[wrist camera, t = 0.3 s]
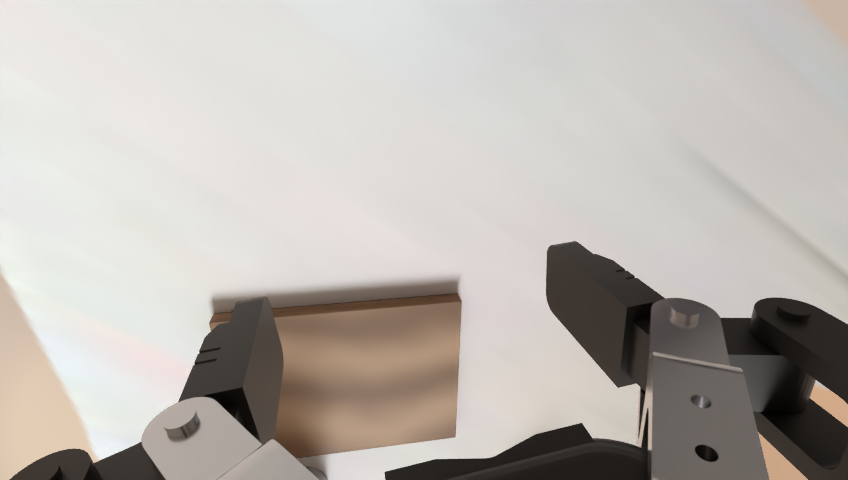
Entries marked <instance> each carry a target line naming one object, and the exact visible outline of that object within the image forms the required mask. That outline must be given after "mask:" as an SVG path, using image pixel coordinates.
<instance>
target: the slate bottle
mask: <svg viewBox="0 0 848 480" xmlns="http://www.w3.org/2000/svg"><path fill="white" fill-rule="evenodd" d="M306 468H307V469H308V470H309V471H310V472H311V473H312V474H314V475H315V476H316V477H317V478H318V479H319V480H327V478H326V476H325V475H324V474H323V473H322V472H320V471H319V470H317V469H314V468H310V467H306Z"/></svg>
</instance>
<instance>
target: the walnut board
mask: <svg viewBox="0 0 848 480" xmlns="http://www.w3.org/2000/svg"><path fill="white" fill-rule="evenodd" d="M461 304H462V301H461V299H460V297H459V295H458V294H447V295H435V296H422V297H410V298H398V299H386V300H374V301H362V302H350V303H337V304H325V305H313V306H301V307H289V308H277V309H272V313H273V316H274V320H275V323H276V327H277V331H278V334H279V338H280V341H281V345H282V350H283V359H284V368H283V376H282V384H281V391H280V399H279V407H278V415H277V423H276V430H275V438H274V440H275V441H277V442H278V443H279V444H280V445H281V446H283V447H284V448H285V449H286V450H287V451H288V452H289V453H290V454H291V455H293V456H294V457H295V458H302V457H310V456H317V455H325V454H332V453H340V452H347V451H355V450H363V449H370V448H378V447H385V446H393V445H400V444H408V443H415V442H423V441H430V440H438V439H446V438H453V437H455V435H456V413H457V392H458V370H459V348H460V326H461ZM232 314H233V312H228V313H216V314H213V317H212V319H211V321H210V323H209V324H210V329H211V331H212V330H213V329H214V328H215V327H216V326H217V325H218V324H222V323H227V322H230V319H231V316H232Z"/></svg>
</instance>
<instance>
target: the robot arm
mask: <svg viewBox="0 0 848 480" xmlns="http://www.w3.org/2000/svg"><path fill="white" fill-rule="evenodd" d="M546 296H547V301H548V305H549V307H550V309H551V311H552V312H553V314H554V315H555V316H556V317H557V318H558V319H559V321H560V322H561V323H562V324H563V325H564V326H565V327H566V329H567V330H568V331H569V332H570V333H571V334H572V335H573V337H574V338H575V339H576V340H577V341H578V342H579V344H580V345H581V346H582V347H583V348H584V349H585V350H586V352H587V353H588V354H589V355H590V356H591V357H592V358H593V360H594V361H595V362H596V363H597V364H598V365H599V366H600V368H601V369H602V370H603V371H604V372H605V373H606V374H607V376H608V377H609V378H610V379H611V380H612V381H613V383H614V384H615V385H616V386H617V387H618V388H619V387H623V386H627V385H631V384H635V383H637V384H638V385H639V386H640V392H639V401H638V421H637V441H636V446H635V445H632V444H628V443H625V442H620V441H615V440H609V439H599V438H592V437H591V436H590V434H589V433H588V431H587V430H586V429H585V427H584V426H583V424H582V423H580V424H576V425H572V426H568V427H564V428H560V429H556V430H552V431H548V432H544V433H540V434H536V435H534V436H532V437H530V438H528V439H526V440H525V441H523V442H521V443H519V444H517V445H515V446H513V447H512V448H510V449H508V450H506V451H504V452H502V453H500V454H499V455H497V456H495V457H492V458H485V459H435V460H431V461H427V462H423V463H419V464H415V465H411V466H407V467H403V468H399V469H395V470H391V471H387V472H385V479H386V480H769V476H768V472H767V468H766V464H765V459H764V455H763V451H762V447H761V443H760V439H759V434H758V432H759V433H760V434H761V435H762V436H763V437H764V438H765V439H766V440H767V441H768V442H769V443H770V444H771V445H773V446H774V447H775V448H776V449H777V450H778V451H779V452H780V453H781V454H782V455H783V456H784V457H785V458H786V459H787V460H788V461H790V463H792V464H793V465H794V466H795V467H796V468H797V469H798V470H799V471H800V472H801V473H802V474H803V475H804V476H805V477H806V478H807V479H808V480H848V427H846V426H845V425H844V424H842V423H841V422H840V421H839V420H837V419H836V418H835V417H833V416H832V415H831V414H829V413H828V412H827V411H825V410H824V409H823V408H821V407H820V406H819V405H818V404H816V403H815V402H814V401H812V400H811V399H810V398H809V397H810V395H811V392H812V389H813V386H814V383H815V380H817V381H818V382H820V383H821V384H823V385H824V386H825V387H827V388H828V389H830V390H831V391H832V392H834V393H835V394H837V395H838V396H839V397H841V398H842V399H843V400H844V401H845V402H846V403H847V404H848V324H846V323H844V322H842V321H841V320H839V319H837V318H835V317H834V316H832V315H830V314H828V313H826V312H825V311H823V310H821V309H819V308H817V307H815V306H813V305H810V304H807V303H804V302H801V301H797V300H792V299H786V298H766V299H762V300H759V301H758V302H756V304H755V305H754V309H753V313H752V317H751V318H720V316H719V315H718V314H717V313H716V312H715V311H714V310H713V309H711V308H710V307H708V306H706V305H704V304H702V303H699V302H696V301H693V300H688V299H682V298H667V299H665V298H664V297H662V296H661V295H660V294H658V293H657V292H656V291H654V290H653V289H651V288H650V287H649V286H647V285H646V284H645V283H643V282H642V281H640V280H639V279H638V278H635V277H634V275H632V274H631V273H629V272H628V271H625V269H624V268H623V267H621V266H620V265H618V264H617V263H616V262H614V261H613V260H610V259H608V258H605V257H602V256H600V255H597V254H592V253H591V252H590V251H589V250H587V249H586V248H585V247H583V246H582V245H581V244H579V243H578V242H576V241H573V242H568V243H562V244H557V245H551V246H550V247H549V248H548V251H547V275H546ZM199 352H200V354H198V356H197V358H196V360H195V365H194V366H193V368H192V370H191V372H190V375H189V377H188V380H187V382H186V385H185V387H184V389H183V392H182V394H181V397H180V399H179V401H178V403H176V404H174V405H172V406H170V407H168V408H167V409H165V410H164V411H162V412H161V413H160V414H158V415H157V416H156V417H155V418H154V419H153V420H152V421H151V422H150V423H149V424H148V426H147V427H146V429H145V430H144V433H143V435H142V442H140V443H138V444H136V445H134V446H132V447H130V448H128V449H125V450H123V451H121V452H118V453H116V454H114V455H112V456H109V457H107V458H105V459H102V460H100V461H98V462H96V463H93V461H92V460H91V458H90V456H89V454H88V453H87V452H85V451H84V450H81V449H67V450H62V451H59V452H55V453H52V454H50V455H48V456H45V457H43V458H41V459H39V460H37V461H35V462H33V463H32V464H30V465H28V466H27V467H25V468H24V469H23V470H21V471H20V472H18V473H17V474H16V475H15V476H13V477H12V478H11V479H10V480H319V479H318V478H317V477H316V476H315V475H314V474H312V473H311V472H310V471H309V470H308V469H307V468H306V467H305V466H304V465H302V464H301V463H300V462H299V461H298V460H297V459H296V458H295V457H294V456H293V455H291V454H290V453H289V452H288V451H287V450H286V449H285V448H284V447H283V446H281V445H280V444H279V443H278V442H277V441H275V440H274V438H275V430H276V423H277V415H278V407H279V399H280V391H281V384H282V376H283V368H284V359H283V350H282V345H281V341H280V338H279V334H278V331H277V327H276V323H275V320H274V316H273V313H272V309H271V306H270V303H269V300H268V298H267V297H262V298H256V299H251V300H245V301H240V302H237V303H236V305H235V308H234V311H233V314H232V316H231V319H230V322H227V323H222V324H218V325H217V326H216V327H215V328H214V329H213V330H212V331H211V332H210V333H209V334H208V335H207V336H206V337H205V339H204V341H203V344H202V346H201V348H200V351H199Z"/></svg>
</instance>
